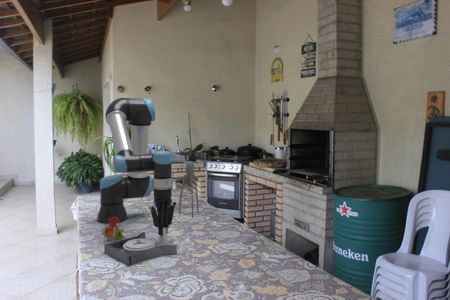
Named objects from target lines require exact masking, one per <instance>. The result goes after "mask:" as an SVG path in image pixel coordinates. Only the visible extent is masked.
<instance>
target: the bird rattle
mask: <svg viewBox="0 0 450 300" xmlns="http://www.w3.org/2000/svg"><path fill="white" fill-rule="evenodd" d="M108 220H109V222H110V223H106V225H104V227H103V228H102V236H103V237H104V238H105V239H106V241H107V242H108V241H111V240H114V239H118V241H120V240H122V239H123V238H124V234H123V232H124V229H120V228H119V226H118V225H117V224H119V223H121V222H120V220H119V219H118V217H115V216H114V217H109V218H108Z"/></svg>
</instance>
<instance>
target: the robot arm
mask: <svg viewBox="0 0 450 300" xmlns="http://www.w3.org/2000/svg"><path fill="white" fill-rule="evenodd" d="M154 105H155V104H154V102H153V100H152V99H150V98H146V97H119V98H116V99H114V100H113V101H111V103H110V104H109V105H108V106H107V108H106V110H105V114H104V115H105V121H106V123H107V125H109V130H110V133H111V139H112V143H113V147H114V152H115V155H114V156H113V157H112V169H113V172H114V173H116V174H111V175H108V176H106V175H105V176H104V177H102V178H101V179H100V181H99V182H100V183H99V189H100V193H99V195H100V207H99V210H98V213H97V222H98V223H101V224H102V223H103V224H109V223H110V222H109V220H108V218H109V217H114V216H115V217H118V219H119V220H120V222H119V223H122V222H124V221H127V219H128V213H127V210H126V207H125V205H124V200H128V199H141V198H146V197H149V196H150V195H151V193H152V191H153V198H154V200H153V202H152V204H151V205H148V209H149V210H150V213H151V217H152V221H153V226H154V227H155V228H158V233H157V234H158V235H159V242H160V243H162V244H165V243H167V235H168V233H169V232H168V231H169V230H168V229H169V228H170V225H172V223H173V219H174V218H173V217H174V214H175V208H176V206H177V202H175V201H173V199H172V193H173V191H172V190H173V189H172V186H173V185H172V179H173V178H172V175H173V174H172V170H173V169H172V164H173V163H172V161H173V159H172V152H170V151H168V150H166V151H164V150H156V151H155V152H153V153H148V146H149V145H148V141H149V140H148V139H149V128H150V127H151V126H152V122H154V121H155V120H156V109H155V106H154ZM126 122H128V125H129V126H130V135H131V136H130V135H129V129H128V126H127V123H126ZM150 172H153V177H152V176H151V175H150ZM126 173H127V174H126ZM123 174H126V176H125V177H124V175H123Z"/></svg>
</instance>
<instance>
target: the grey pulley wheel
mask: <svg viewBox="0 0 450 300" xmlns="http://www.w3.org/2000/svg"><path fill="white" fill-rule="evenodd" d="M155 245H156V242H155V241H153V240H151V239H149V238H145V239H133V240H129V241H127V242H126V243H125V244H124V245H123V248H124V249H123V252H125V253H127V254H129V255H132V254H135V253H139V252H142V251H145V250H149V249H152V248H155Z"/></svg>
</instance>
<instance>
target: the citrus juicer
mask: <svg viewBox="0 0 450 300" xmlns="http://www.w3.org/2000/svg"><path fill="white" fill-rule="evenodd" d="M186 179H187V180H188V184H189V185H190V188H191V190H190V191H191V192H190V193H191V218H194V192H193V183H194V187H195V188H194V189H195V196H196V210H197V211H196V212H197V213H199V210H200V209H199V208H200V207H199V195H198V186H197V180H196V174H195V163H194V162H193V161H187V162H186V163H185V174H184V175H183V178H182V183H181V189H180V194H179V195H180V196H179V206H178V215H180V214H181V208H182V197H183V191H184V186H185V181H186Z"/></svg>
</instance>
